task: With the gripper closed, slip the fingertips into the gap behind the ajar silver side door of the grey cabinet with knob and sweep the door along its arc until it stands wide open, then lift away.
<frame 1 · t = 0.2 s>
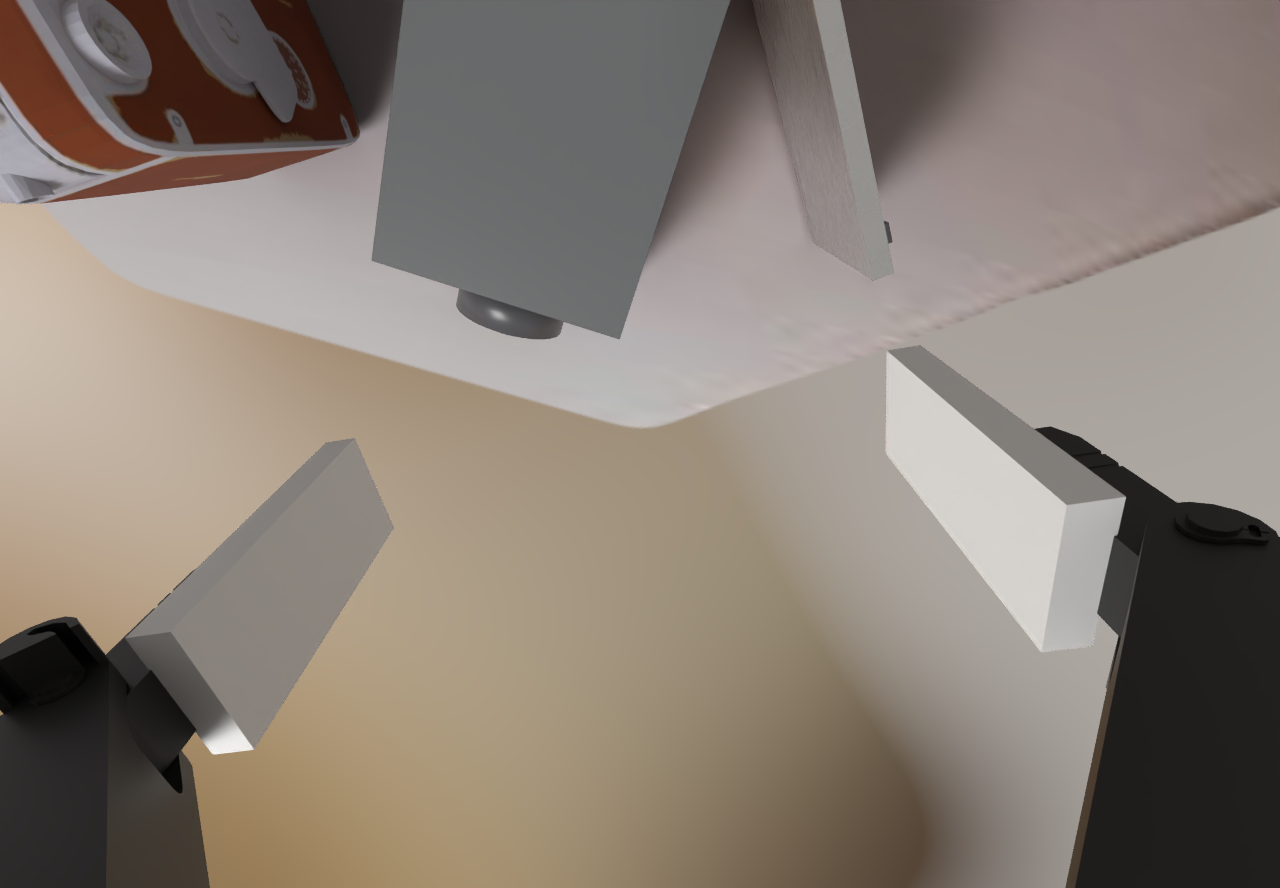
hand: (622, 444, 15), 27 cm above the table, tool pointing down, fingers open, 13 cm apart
side door: (822, 98, 30), point 6 cm above the table, hinge at 40.0°
grey cabinet with knob: (577, 86, 35), on the table
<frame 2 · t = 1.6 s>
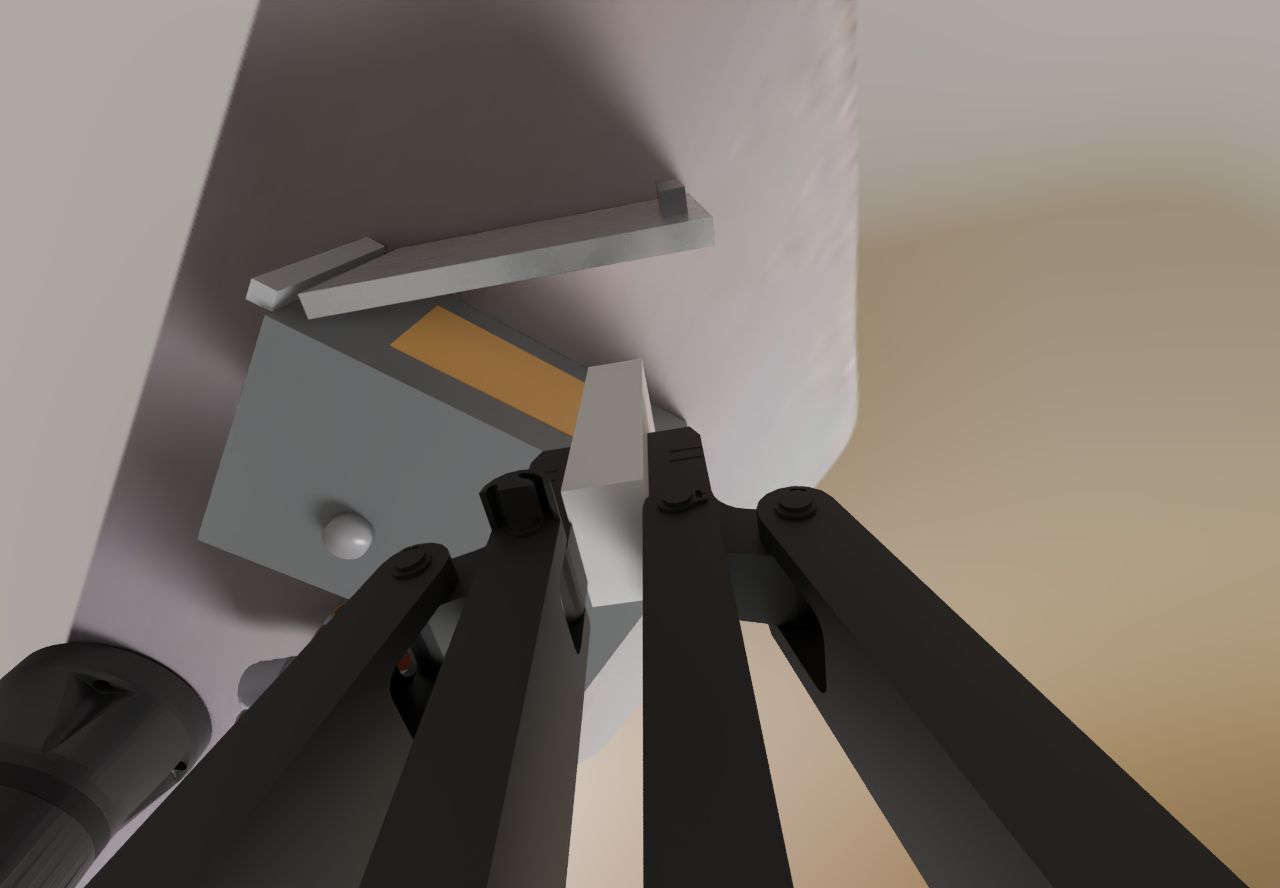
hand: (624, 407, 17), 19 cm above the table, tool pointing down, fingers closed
side door: (524, 235, 27), point 6 cm above the table, hinge at 40.0°
grey cabinet with knob: (502, 424, 38), on the table
cine camera: (409, 623, 46), on the table
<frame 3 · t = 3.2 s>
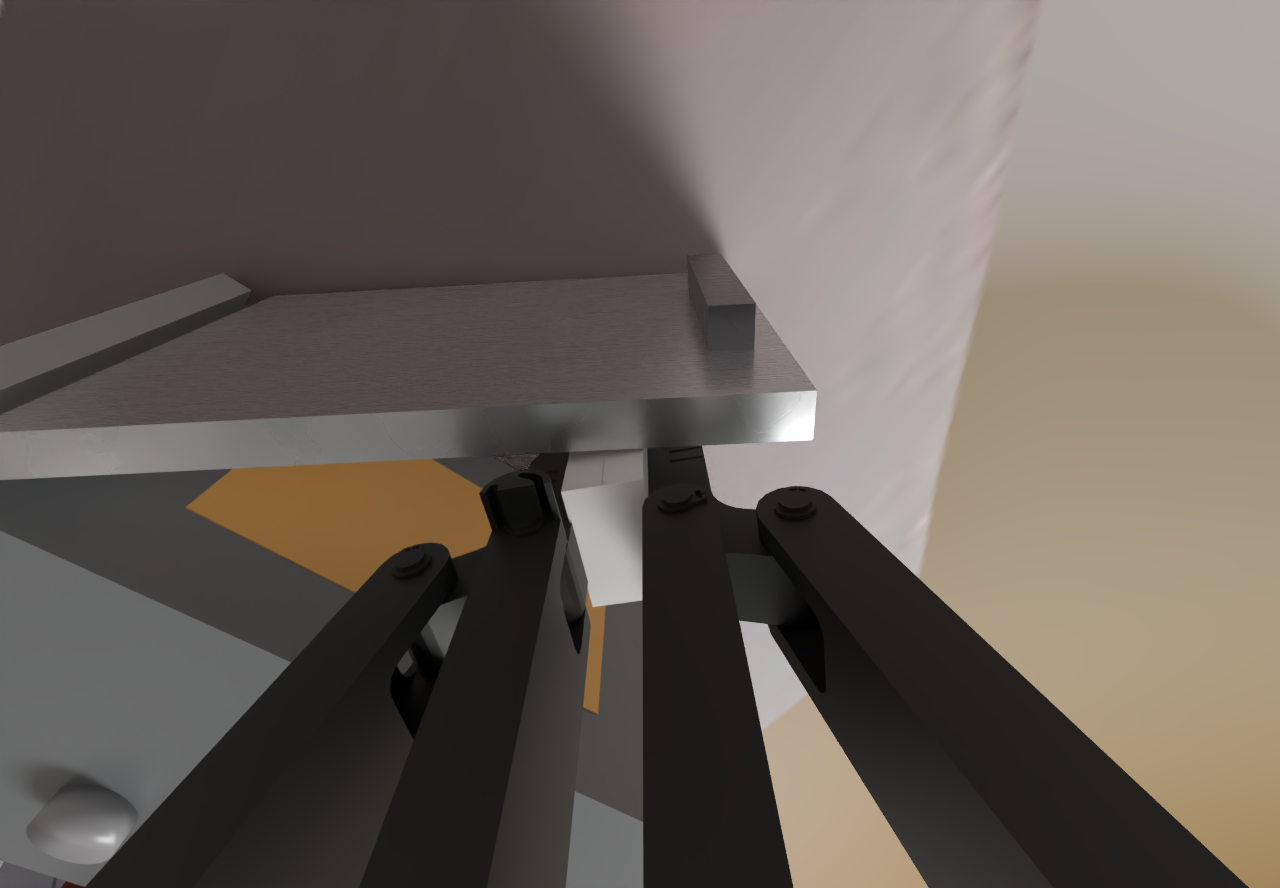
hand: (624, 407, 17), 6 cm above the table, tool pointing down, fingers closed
side door: (458, 328, 16), point 6 cm above the table, hinge at 40.1°, touching gripper
grey cabinet with knob: (421, 550, 27), on the table
cine camera: (274, 772, 34), on the table
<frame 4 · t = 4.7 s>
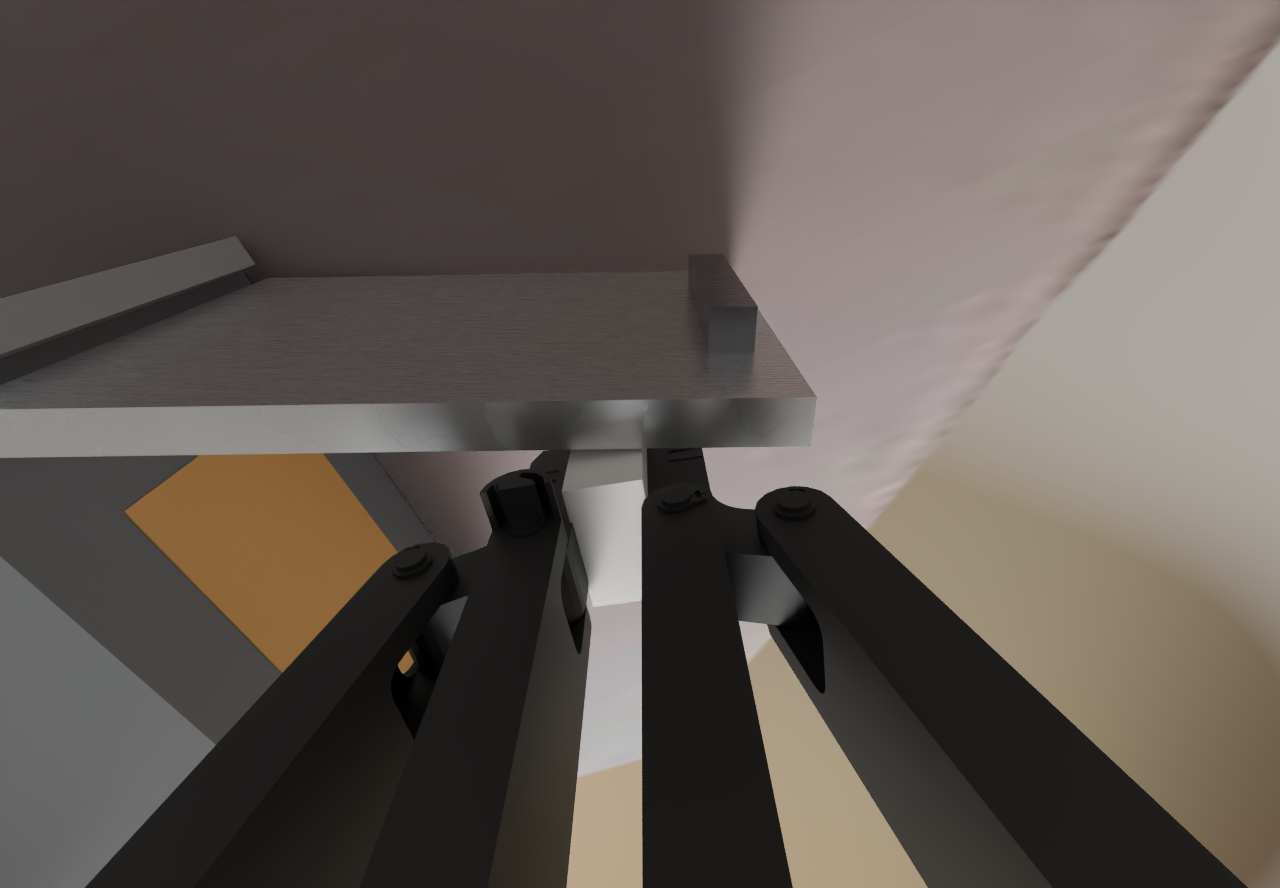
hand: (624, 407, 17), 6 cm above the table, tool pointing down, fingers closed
side door: (456, 318, 16), point 6 cm above the table, hinge at 68.2°, touching gripper
grey cabinet with knob: (285, 538, 26), on the table
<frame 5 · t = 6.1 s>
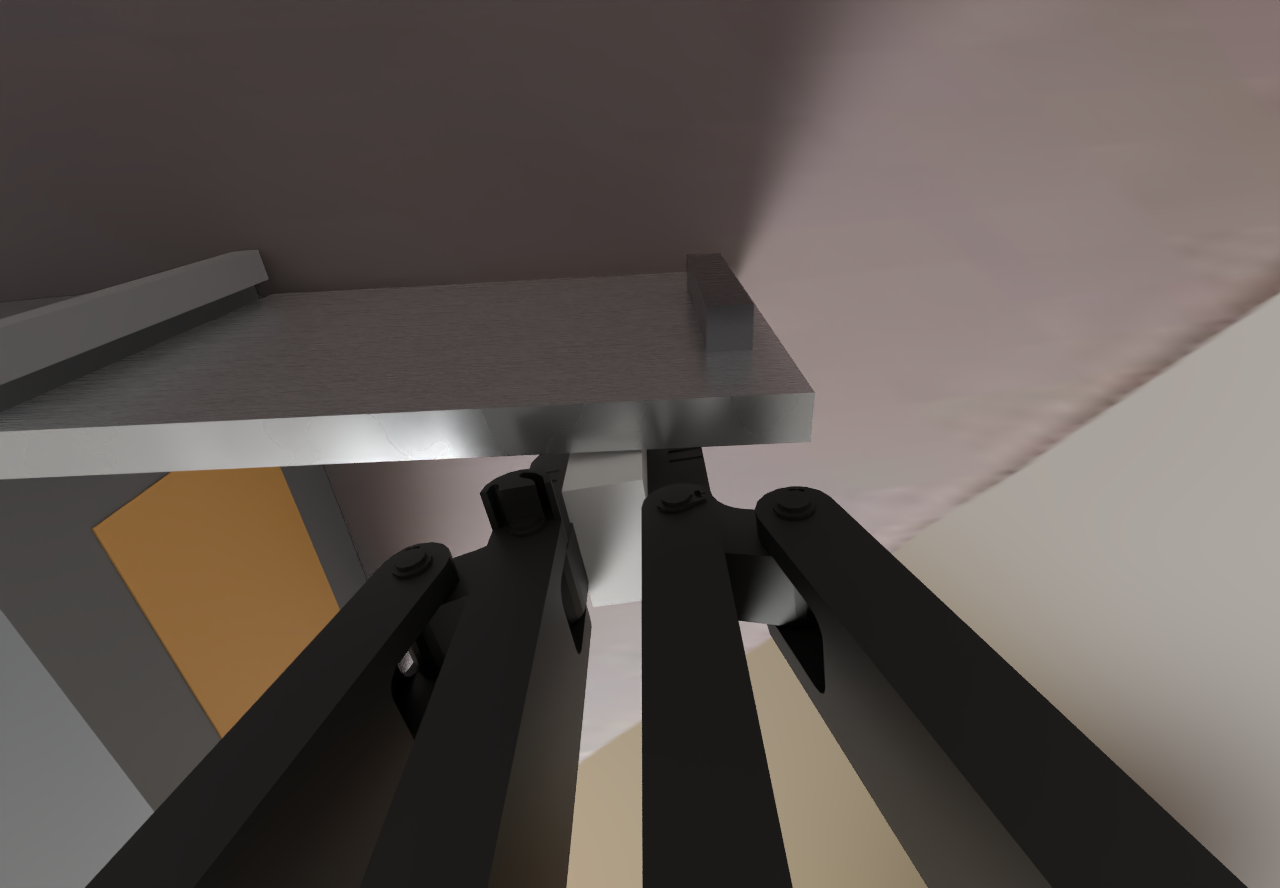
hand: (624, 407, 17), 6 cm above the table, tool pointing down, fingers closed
side door: (456, 327, 16), point 6 cm above the table, hinge at 87.8°, touching gripper
grey cabinet with knob: (206, 524, 26), on the table
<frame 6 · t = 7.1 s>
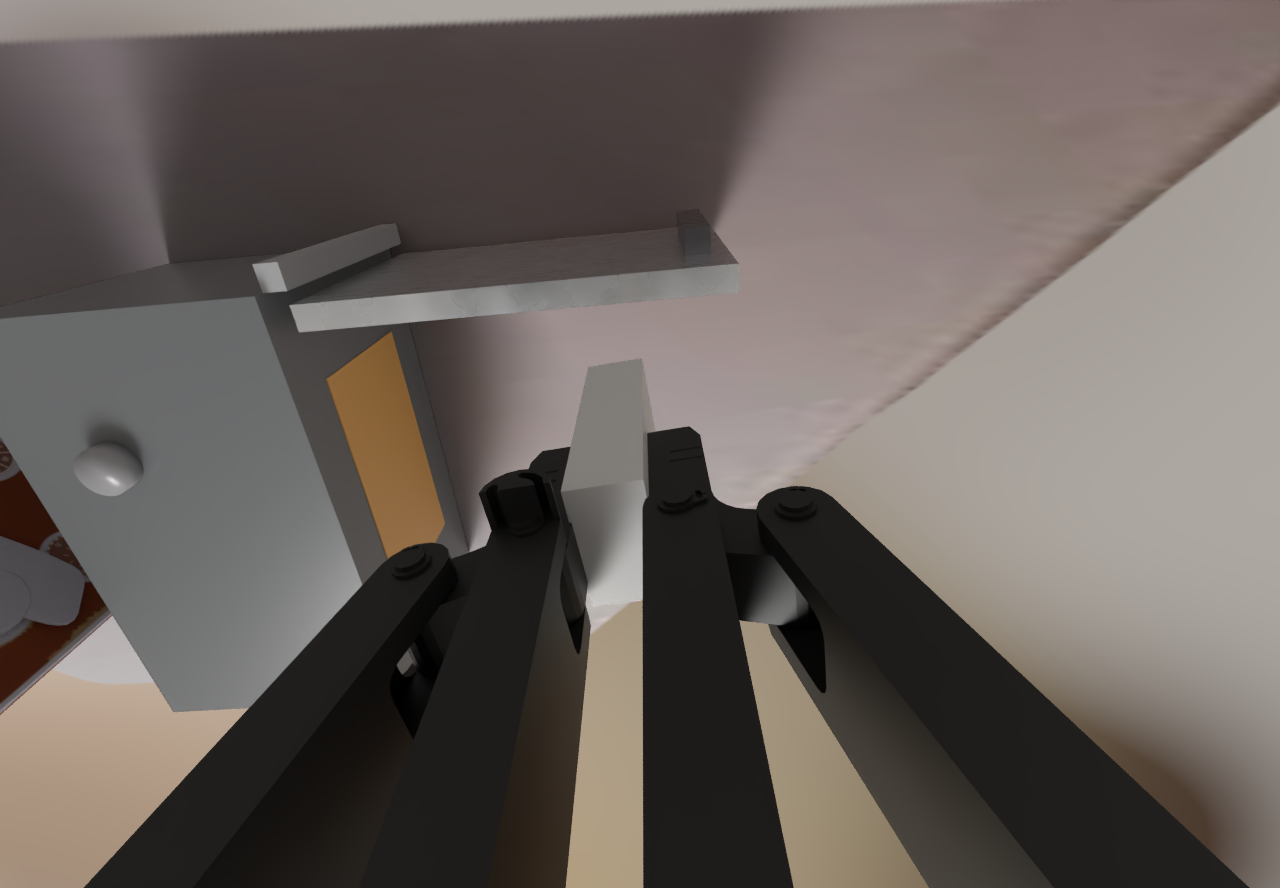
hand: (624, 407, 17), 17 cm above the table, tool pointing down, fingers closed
side door: (535, 257, 26), point 6 cm above the table, hinge at 90.3°
grey cabinet with knob: (336, 424, 36), on the table
cine camera: (46, 455, 38), on the table
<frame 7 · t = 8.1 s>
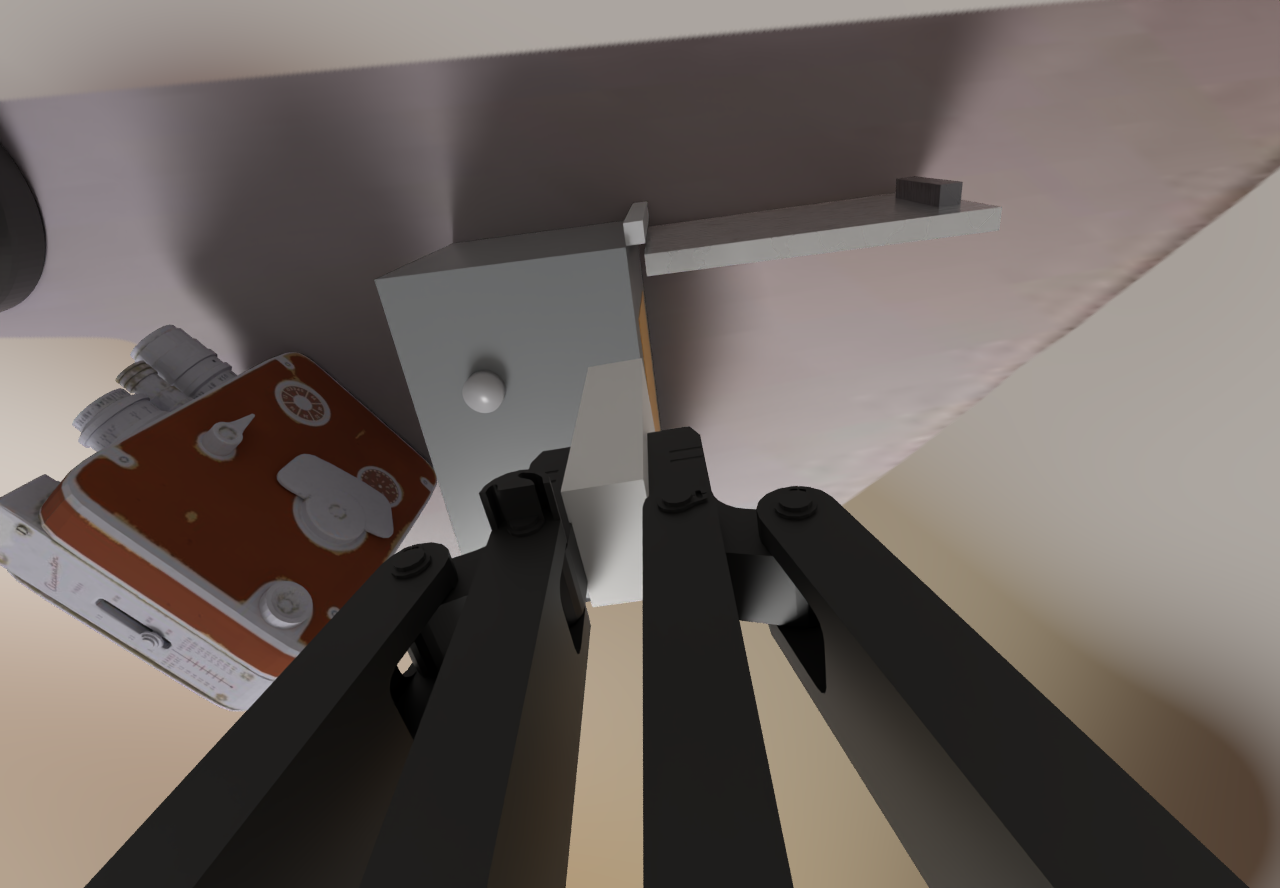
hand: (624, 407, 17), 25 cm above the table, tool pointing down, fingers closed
side door: (794, 218, 32), point 6 cm above the table, hinge at 90.3°
grey cabinet with knob: (570, 377, 43), on the table
cine camera: (322, 413, 45), on the table
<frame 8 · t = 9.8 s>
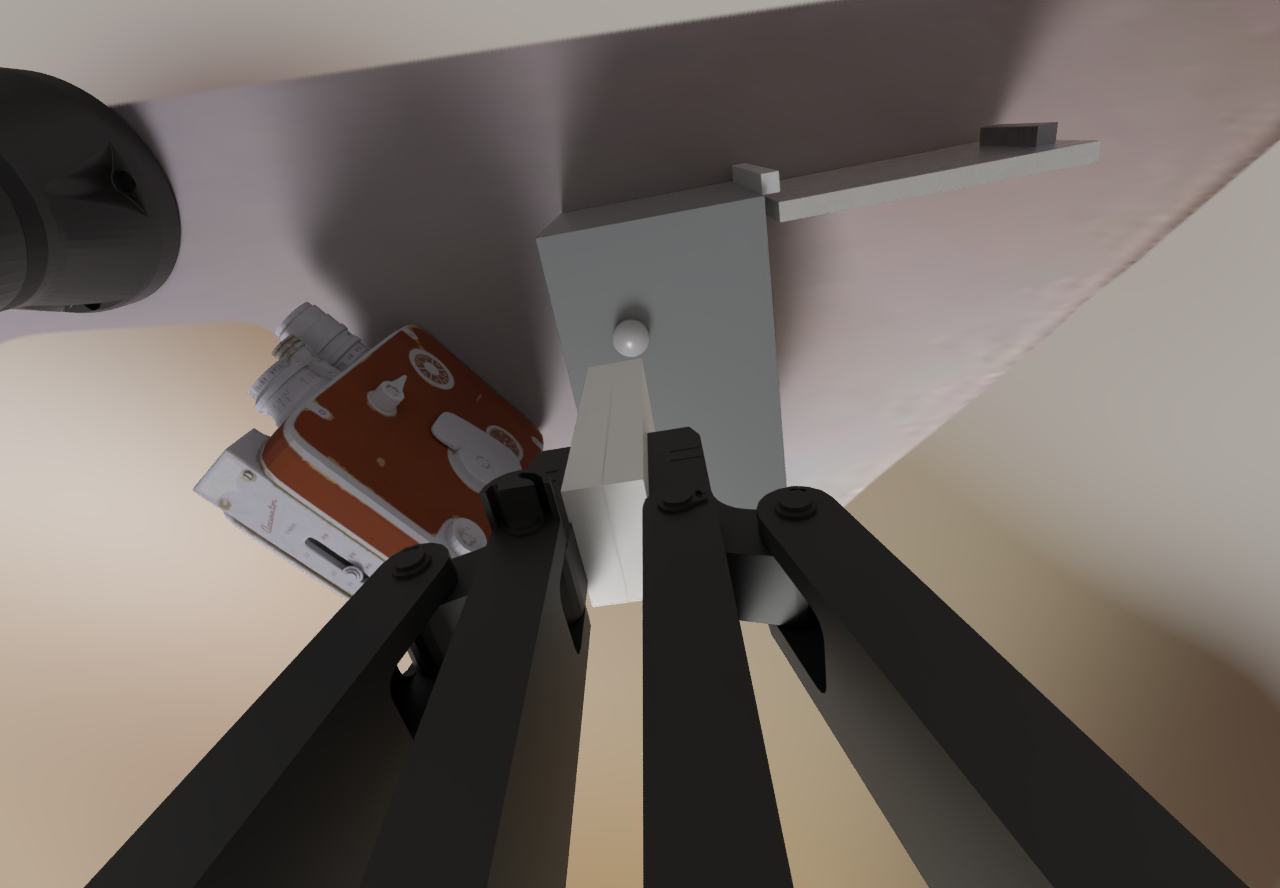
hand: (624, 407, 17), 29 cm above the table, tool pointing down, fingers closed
side door: (895, 167, 35), point 6 cm above the table, hinge at 90.3°
grey cabinet with knob: (667, 335, 46), on the table
cine camera: (434, 383, 48), on the table
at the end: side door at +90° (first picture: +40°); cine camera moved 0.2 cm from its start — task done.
